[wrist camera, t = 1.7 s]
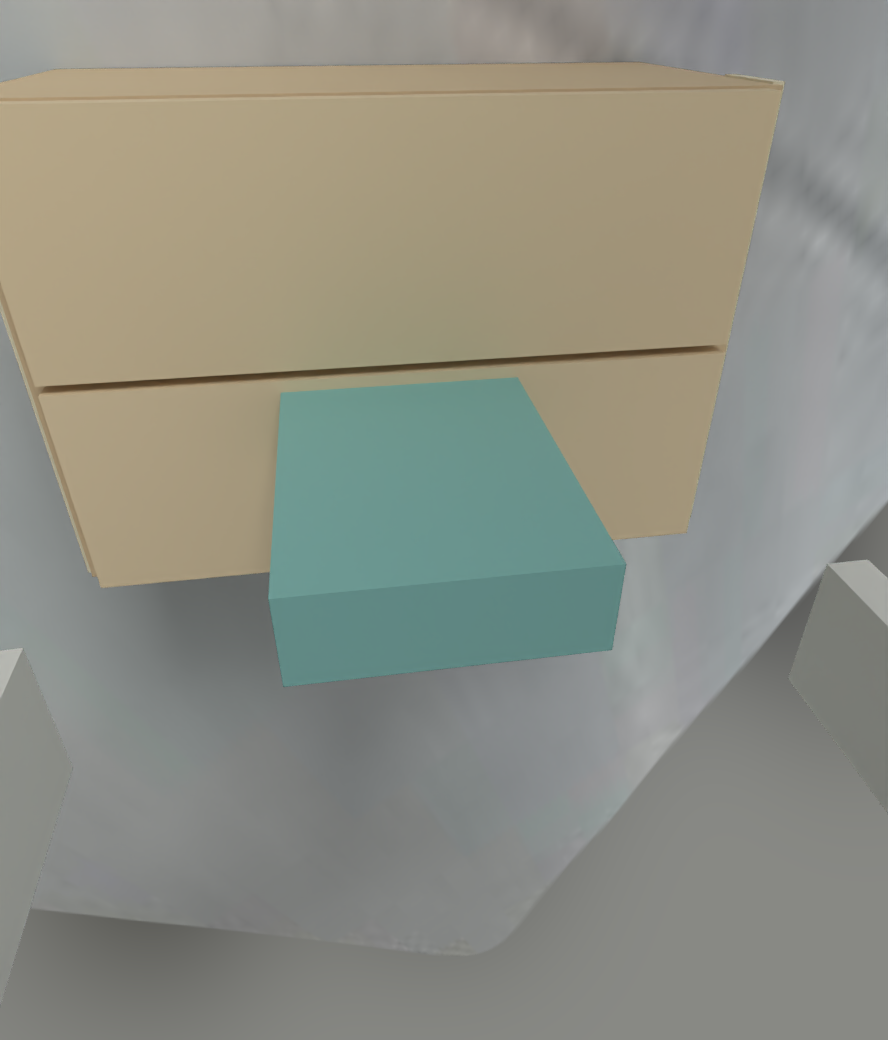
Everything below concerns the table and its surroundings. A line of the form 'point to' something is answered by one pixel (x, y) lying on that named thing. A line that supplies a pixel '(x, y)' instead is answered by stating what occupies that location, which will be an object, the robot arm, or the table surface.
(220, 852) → the table surface
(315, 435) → the flap
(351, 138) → the carton
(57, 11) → the table surface
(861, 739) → the robot arm
